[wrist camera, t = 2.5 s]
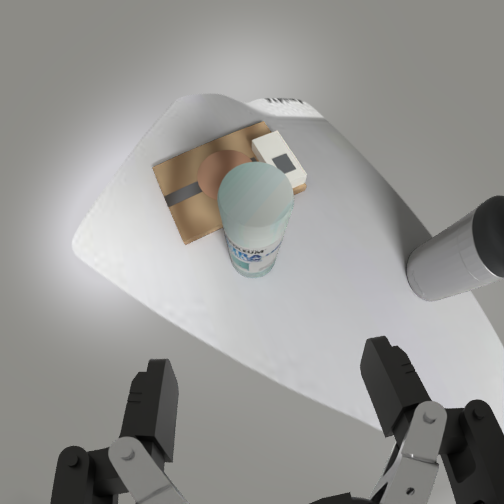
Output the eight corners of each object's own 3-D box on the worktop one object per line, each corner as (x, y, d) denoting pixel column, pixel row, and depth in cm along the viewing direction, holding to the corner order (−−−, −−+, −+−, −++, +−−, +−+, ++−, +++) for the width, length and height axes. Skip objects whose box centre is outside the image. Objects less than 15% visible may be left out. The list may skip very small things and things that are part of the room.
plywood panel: (263, 126, 51) (263, 120, 50) (305, 190, 48) (306, 185, 46) (154, 172, 49) (151, 166, 47) (185, 244, 45) (183, 241, 44)
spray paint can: (220, 260, 45) (200, 199, 26) (249, 226, 46) (249, 147, 27) (257, 288, 44) (263, 245, 24) (285, 253, 45) (310, 187, 26)
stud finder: (251, 149, 48) (251, 139, 46) (276, 140, 49) (277, 129, 46) (279, 194, 46) (280, 185, 43) (304, 183, 47) (307, 174, 44)
